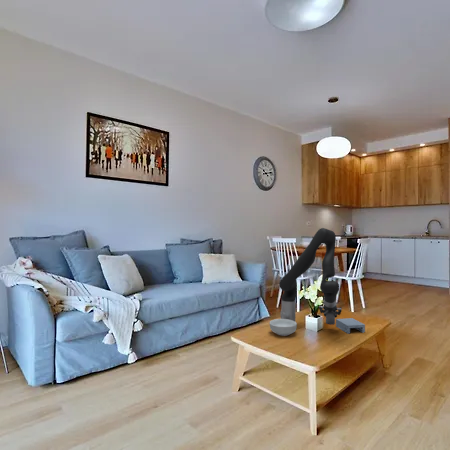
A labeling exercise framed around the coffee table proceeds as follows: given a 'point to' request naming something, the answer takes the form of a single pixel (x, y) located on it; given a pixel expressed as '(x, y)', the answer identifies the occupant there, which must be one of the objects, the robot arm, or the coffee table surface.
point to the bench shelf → (349, 325)
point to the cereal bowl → (283, 326)
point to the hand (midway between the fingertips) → (330, 315)
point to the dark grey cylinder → (330, 318)
